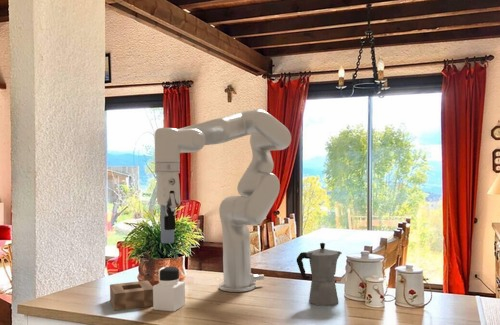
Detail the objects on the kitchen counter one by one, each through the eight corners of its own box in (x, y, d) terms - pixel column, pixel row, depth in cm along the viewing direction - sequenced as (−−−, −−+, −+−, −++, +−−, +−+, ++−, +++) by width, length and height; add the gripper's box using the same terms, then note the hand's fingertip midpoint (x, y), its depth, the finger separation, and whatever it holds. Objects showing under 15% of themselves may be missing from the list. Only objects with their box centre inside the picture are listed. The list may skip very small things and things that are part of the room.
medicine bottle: (185, 304, 146) (184, 265, 146) (174, 312, 139) (173, 270, 139) (164, 303, 148) (164, 264, 148) (152, 310, 142) (152, 269, 142)
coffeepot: (334, 295, 153) (333, 239, 153) (350, 303, 145) (349, 243, 145) (291, 300, 148) (289, 242, 148) (304, 309, 139) (303, 247, 139)
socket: (147, 295, 157) (147, 280, 157) (155, 305, 146) (154, 289, 146) (110, 300, 153) (109, 284, 153) (114, 310, 142) (114, 293, 142)
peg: (172, 241, 148) (172, 202, 148) (175, 242, 144) (175, 203, 145) (159, 241, 146) (159, 202, 146) (162, 243, 143) (162, 203, 143)
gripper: (187, 168, 140) (187, 231, 139) (171, 168, 155) (171, 225, 155) (162, 168, 137) (162, 232, 136) (148, 168, 152) (148, 226, 151)
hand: (167, 228), depth 145 cm, fingers closed on peg, 4 cm apart
